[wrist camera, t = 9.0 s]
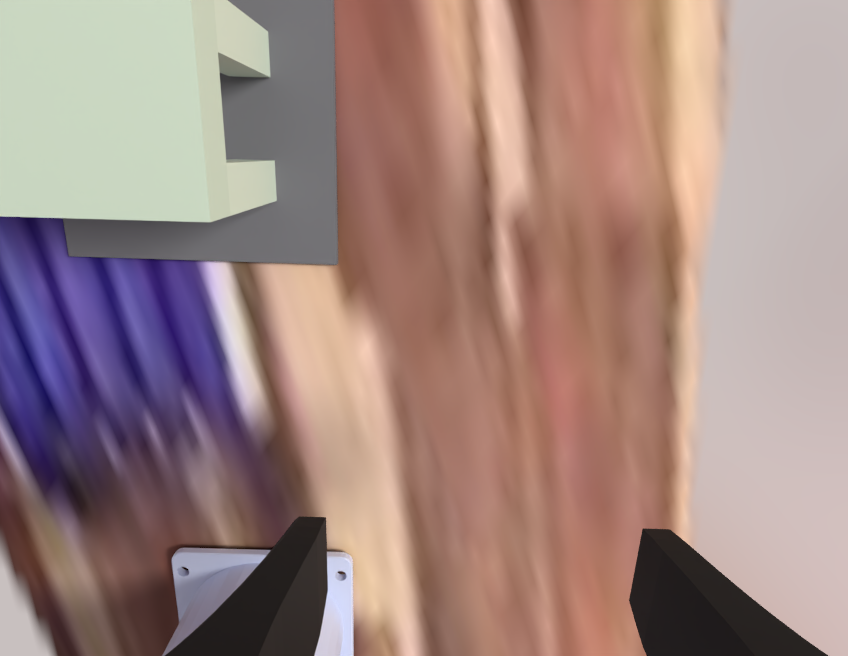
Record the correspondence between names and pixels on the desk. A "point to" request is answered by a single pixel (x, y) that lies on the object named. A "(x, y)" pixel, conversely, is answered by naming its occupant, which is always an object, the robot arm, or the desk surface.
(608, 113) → the desk surface
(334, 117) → the felt pad
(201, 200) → the slotted sage cube
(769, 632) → the robot arm
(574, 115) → the desk surface
